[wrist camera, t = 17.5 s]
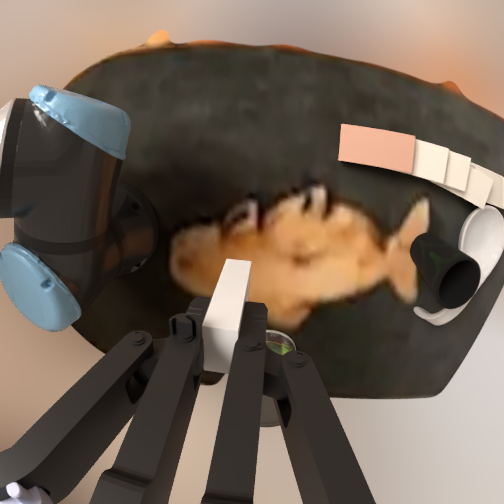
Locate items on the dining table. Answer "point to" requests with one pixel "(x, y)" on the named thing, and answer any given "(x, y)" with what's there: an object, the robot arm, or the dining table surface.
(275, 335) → the coffee can
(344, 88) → the dining table surface
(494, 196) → the tile
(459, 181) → the tile
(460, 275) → the cup
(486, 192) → the tile
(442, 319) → the spoon rest
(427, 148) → the tile
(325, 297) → the dining table surface
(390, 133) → the tile
